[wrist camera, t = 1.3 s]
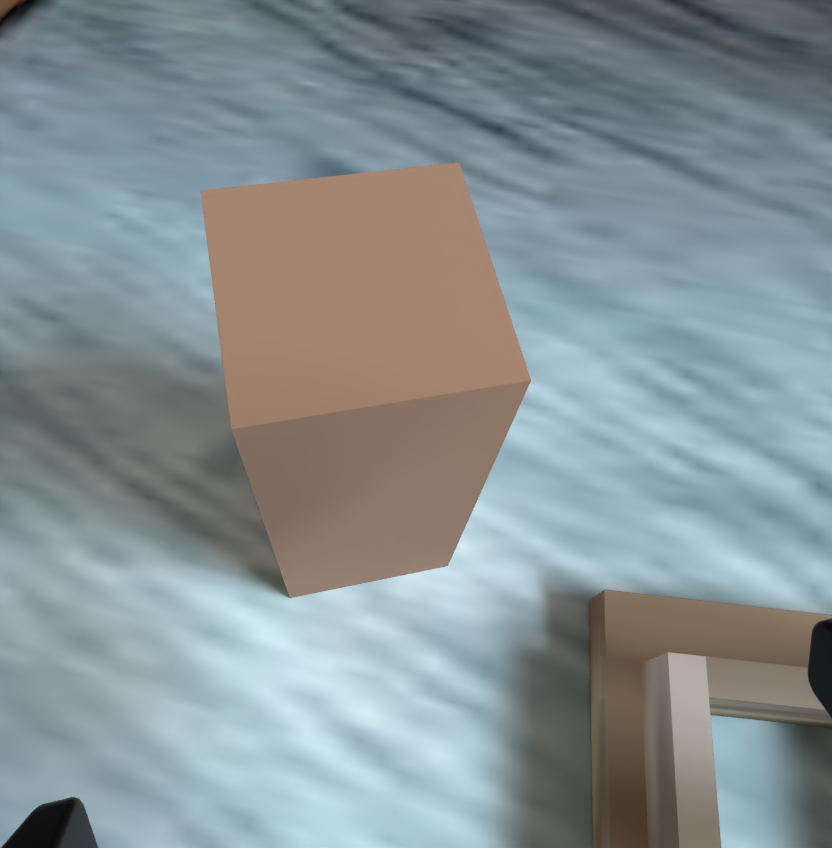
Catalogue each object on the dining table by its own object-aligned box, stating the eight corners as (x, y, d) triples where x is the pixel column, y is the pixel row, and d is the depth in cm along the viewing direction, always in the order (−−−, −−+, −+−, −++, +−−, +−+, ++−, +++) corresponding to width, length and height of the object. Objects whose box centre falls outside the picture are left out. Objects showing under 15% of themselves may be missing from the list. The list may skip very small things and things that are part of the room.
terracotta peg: (447, 565, 23) (530, 380, 12) (289, 597, 22) (231, 429, 12) (413, 426, 25) (459, 162, 14) (267, 450, 24) (200, 190, 14)
